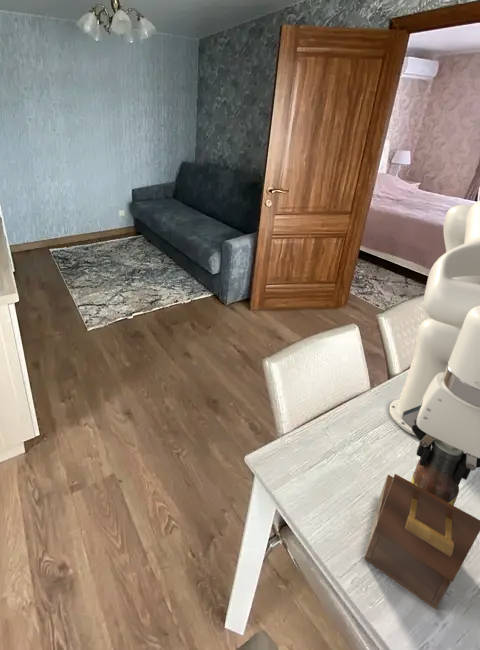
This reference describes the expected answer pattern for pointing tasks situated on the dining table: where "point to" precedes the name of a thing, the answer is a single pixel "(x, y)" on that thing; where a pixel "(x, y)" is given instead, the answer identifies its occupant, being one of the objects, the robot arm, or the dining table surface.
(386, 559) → the storage box
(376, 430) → the dining table surface
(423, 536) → the box lid
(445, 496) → the sauce bottle
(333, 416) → the dining table surface
